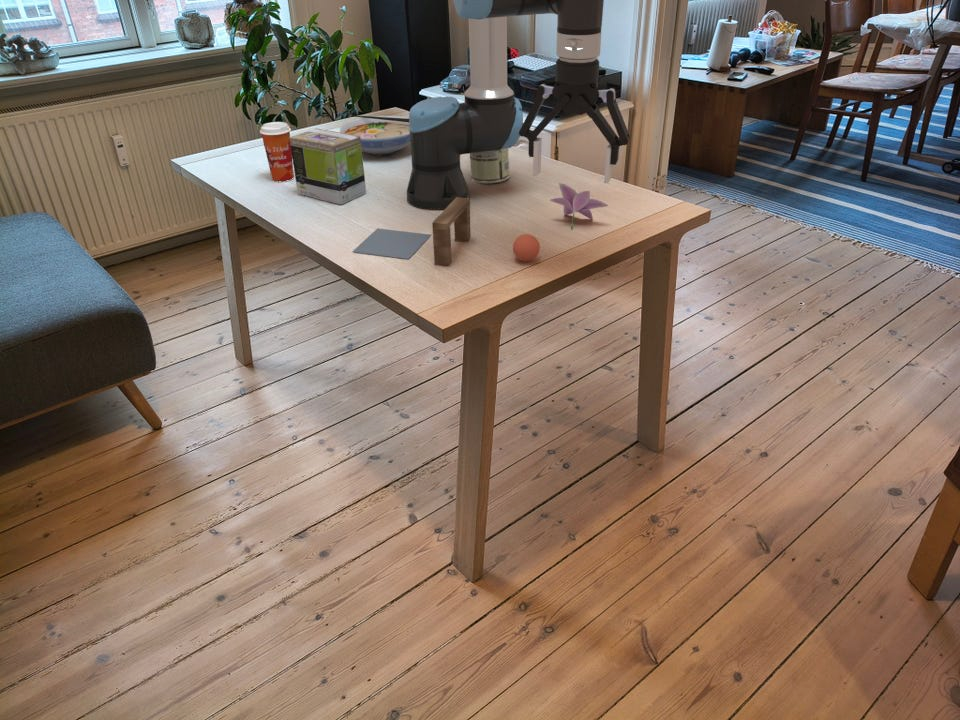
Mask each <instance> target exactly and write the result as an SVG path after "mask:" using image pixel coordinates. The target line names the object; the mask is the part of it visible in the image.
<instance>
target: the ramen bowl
mask: <svg viewBox="0 0 960 720" xmlns="http://www.w3.org/2000/svg"><path fill="white" fill-rule="evenodd" d="M352 117H355V118H354V119H351V120H349V121H346V122H344V123H343V124H341V125H340V126H339V132H340V133H346V134H352V135H358V136H360V139H361V147H362V153H363V152H364V153H368V154H370V155H372V156H379V155H381V156H387V155H391V154H393V153H395V152H397V151H399V150H401V149H404V148H405V147H407V146H409V144H411V143H410V131H409V117H405V116H400V115H376V116H369V115H355V114H354V115H352Z"/></svg>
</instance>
